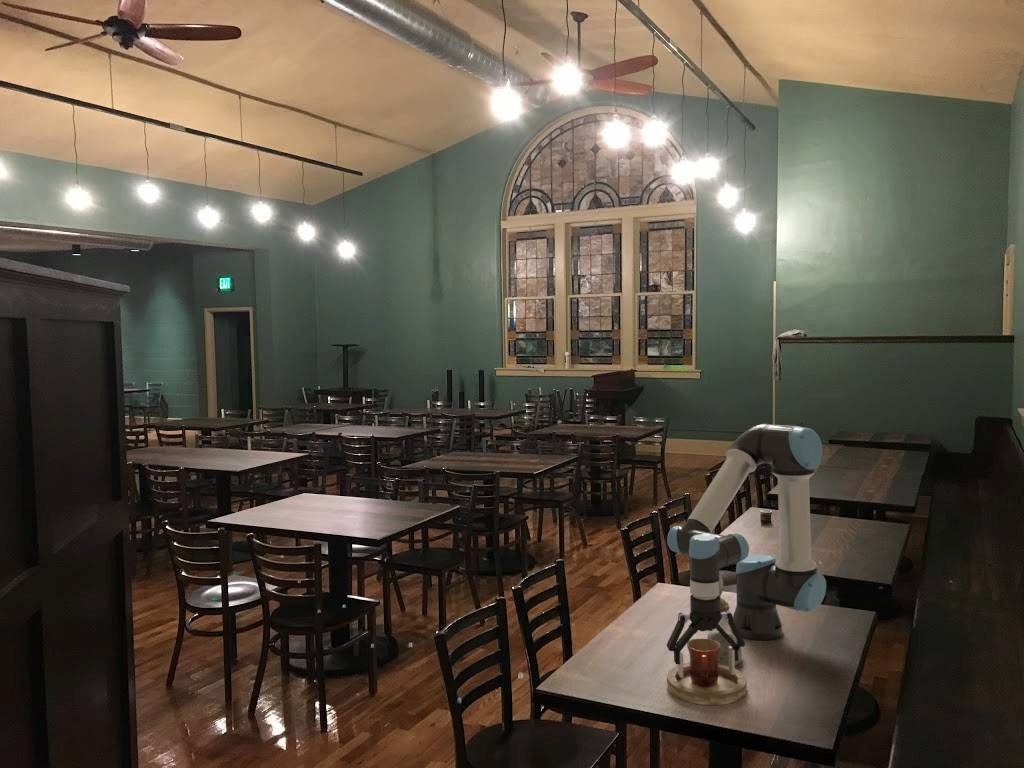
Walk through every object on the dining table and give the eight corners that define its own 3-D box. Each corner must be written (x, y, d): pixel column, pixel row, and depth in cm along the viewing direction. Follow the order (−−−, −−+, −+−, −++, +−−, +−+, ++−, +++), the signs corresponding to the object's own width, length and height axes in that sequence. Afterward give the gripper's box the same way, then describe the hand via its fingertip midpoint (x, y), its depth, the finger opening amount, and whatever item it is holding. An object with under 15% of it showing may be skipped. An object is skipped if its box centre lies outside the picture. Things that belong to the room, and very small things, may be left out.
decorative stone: (731, 675, 227) (748, 641, 229) (695, 654, 232) (711, 622, 234) (735, 680, 238) (751, 648, 240) (700, 660, 243) (716, 629, 245)
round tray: (732, 669, 230) (731, 659, 230) (757, 702, 211) (757, 692, 210) (660, 673, 229) (659, 664, 229) (678, 707, 210) (678, 696, 209)
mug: (687, 674, 227) (686, 637, 226) (720, 675, 225) (719, 638, 224) (687, 694, 215) (686, 655, 214) (722, 696, 213) (722, 656, 212)
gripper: (747, 587, 222) (748, 665, 224) (654, 592, 221) (656, 670, 223) (757, 597, 215) (758, 677, 217) (660, 602, 214) (662, 683, 215)
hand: (706, 674), depth 220 cm, fingers open, 13 cm apart
